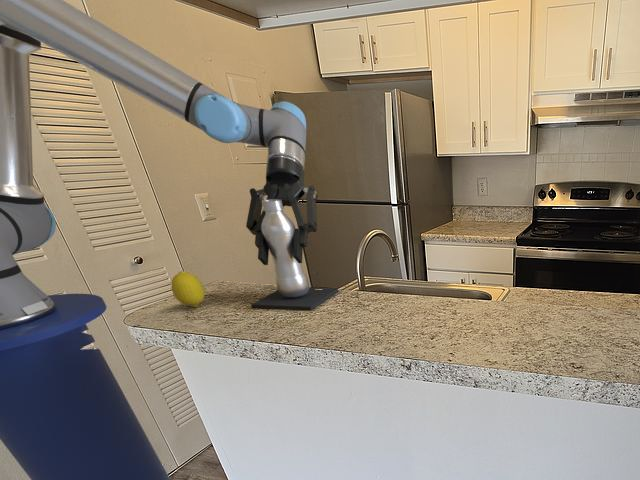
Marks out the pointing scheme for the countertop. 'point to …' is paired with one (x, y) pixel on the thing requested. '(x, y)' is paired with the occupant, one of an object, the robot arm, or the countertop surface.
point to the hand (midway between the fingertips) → (280, 260)
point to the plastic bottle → (283, 249)
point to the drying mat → (296, 300)
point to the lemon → (187, 289)
